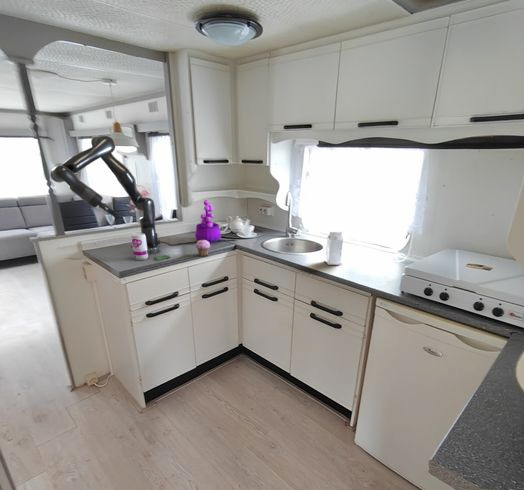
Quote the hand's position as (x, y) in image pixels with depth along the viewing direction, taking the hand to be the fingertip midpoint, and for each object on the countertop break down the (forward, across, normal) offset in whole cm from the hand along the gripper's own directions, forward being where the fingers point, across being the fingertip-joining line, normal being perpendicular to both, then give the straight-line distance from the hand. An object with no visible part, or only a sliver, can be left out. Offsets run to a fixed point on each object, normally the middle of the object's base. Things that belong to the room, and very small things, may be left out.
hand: (118, 217), depth 183 cm
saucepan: (+30, +14, +7) cm, 34 cm away
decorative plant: (+63, +14, -26) cm, 69 cm away
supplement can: (+26, 0, +12) cm, 28 cm away
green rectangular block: (+33, -7, +4) cm, 34 cm away
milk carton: (+91, -72, -54) cm, 127 cm away
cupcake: (+50, -15, -13) cm, 54 cm away
